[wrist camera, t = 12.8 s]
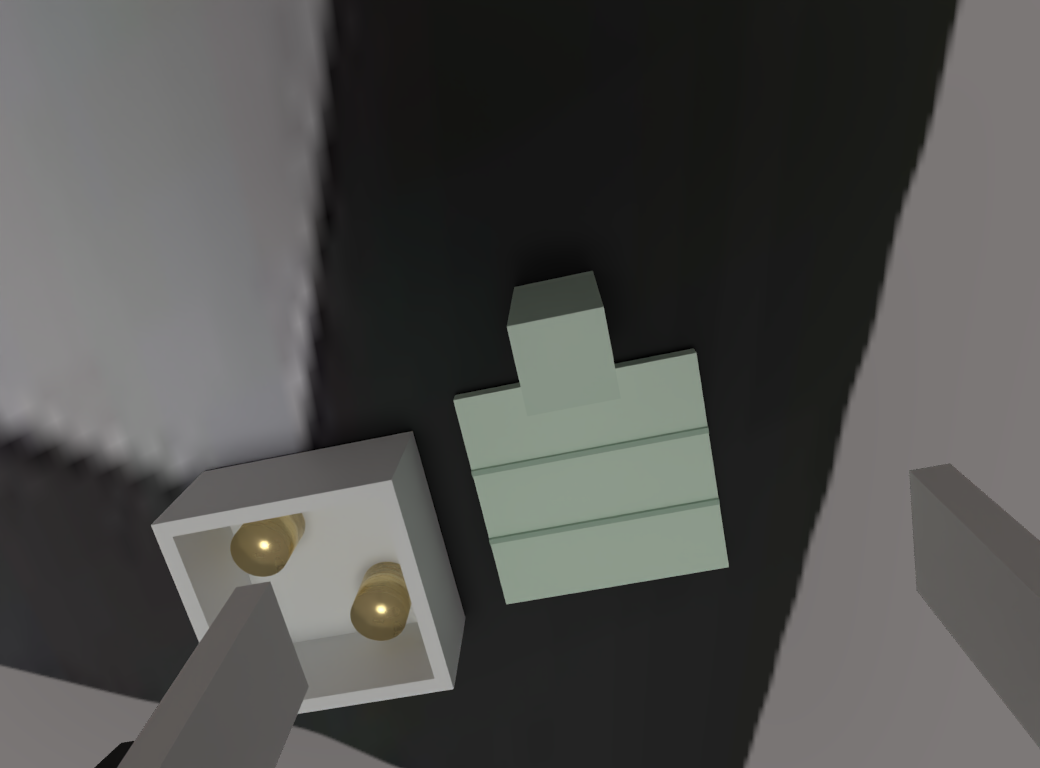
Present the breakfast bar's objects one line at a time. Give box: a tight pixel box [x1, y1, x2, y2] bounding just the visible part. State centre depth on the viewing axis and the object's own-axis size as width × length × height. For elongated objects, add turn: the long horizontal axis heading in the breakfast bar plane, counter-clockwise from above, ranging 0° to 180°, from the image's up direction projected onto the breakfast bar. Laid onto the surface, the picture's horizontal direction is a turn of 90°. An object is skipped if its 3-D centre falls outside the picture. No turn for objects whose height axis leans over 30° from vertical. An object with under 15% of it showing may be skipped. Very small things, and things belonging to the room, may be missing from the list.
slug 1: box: [230, 513, 305, 577], centre depth 42 cm, size 3×3×3 cm
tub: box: [151, 431, 465, 714], centre depth 41 cm, size 12×12×6 cm
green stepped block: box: [453, 271, 729, 604], centre depth 38 cm, size 18×13×8 cm
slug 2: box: [350, 562, 412, 641], centre depth 43 cm, size 3×3×3 cm
